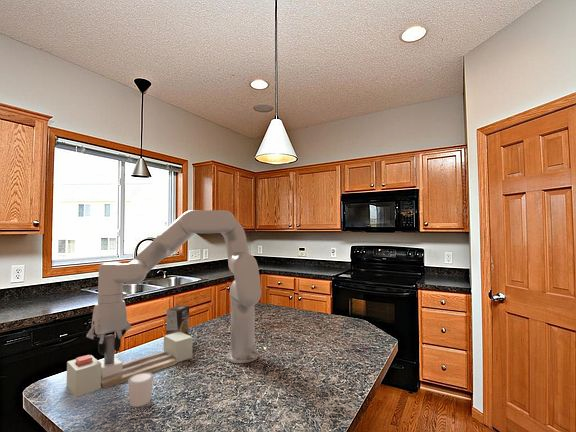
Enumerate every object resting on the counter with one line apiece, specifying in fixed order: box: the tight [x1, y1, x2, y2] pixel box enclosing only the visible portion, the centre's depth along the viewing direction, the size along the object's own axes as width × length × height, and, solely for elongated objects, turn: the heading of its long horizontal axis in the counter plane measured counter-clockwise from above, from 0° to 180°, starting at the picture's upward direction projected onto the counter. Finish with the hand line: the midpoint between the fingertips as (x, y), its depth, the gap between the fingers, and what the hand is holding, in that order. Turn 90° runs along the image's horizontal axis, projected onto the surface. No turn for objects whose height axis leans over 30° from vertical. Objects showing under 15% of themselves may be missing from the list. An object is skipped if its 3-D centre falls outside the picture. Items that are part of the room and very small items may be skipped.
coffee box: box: [165, 305, 190, 336], centre depth 140 cm, size 9×6×16 cm
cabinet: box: [163, 332, 194, 364], centre depth 126 cm, size 10×7×8 cm
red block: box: [75, 354, 92, 367], centre depth 101 cm, size 4×4×4 cm
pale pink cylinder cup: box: [127, 373, 154, 408], centre depth 93 cm, size 7×7×7 cm
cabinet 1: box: [66, 354, 102, 398], centre depth 101 cm, size 10×7×8 cm
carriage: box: [98, 334, 123, 378], centre depth 107 cm, size 7×6×12 cm
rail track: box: [101, 350, 177, 390], centre depth 113 cm, size 12×25×2 cm, turn 138°
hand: (109, 351), depth 107 cm, fingers open, 4 cm apart
